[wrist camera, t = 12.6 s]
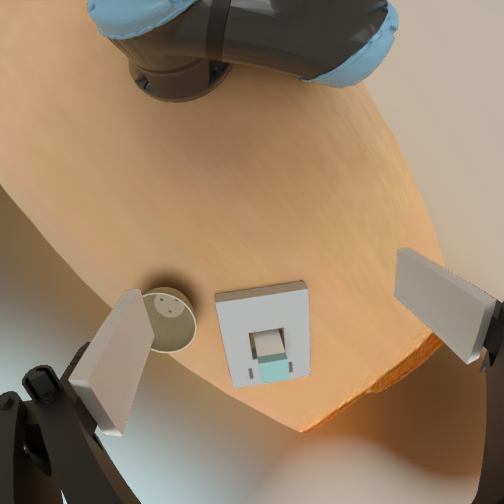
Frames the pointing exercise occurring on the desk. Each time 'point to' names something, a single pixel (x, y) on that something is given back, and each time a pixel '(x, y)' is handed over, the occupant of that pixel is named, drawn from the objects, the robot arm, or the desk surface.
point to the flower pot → (170, 319)
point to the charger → (271, 356)
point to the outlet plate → (264, 328)
